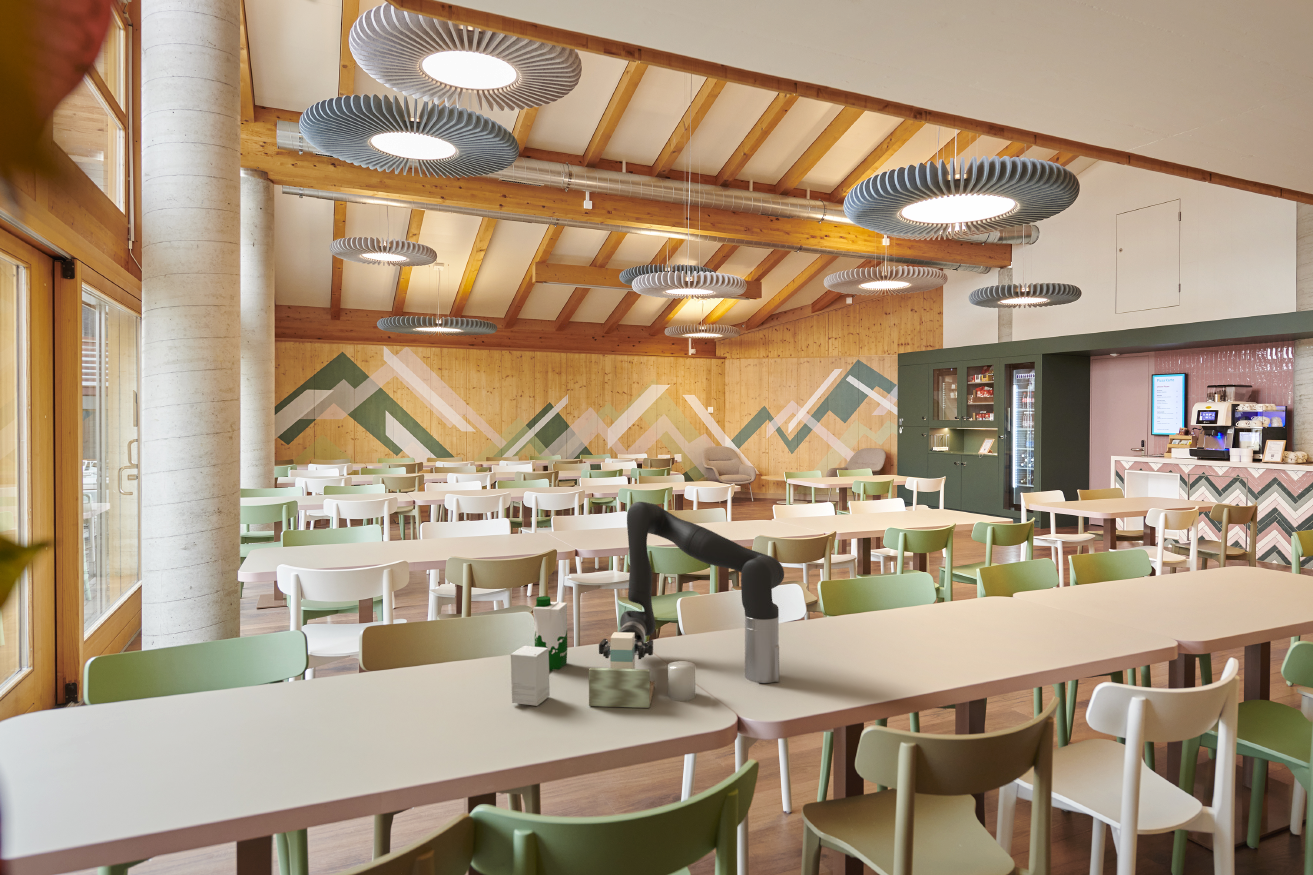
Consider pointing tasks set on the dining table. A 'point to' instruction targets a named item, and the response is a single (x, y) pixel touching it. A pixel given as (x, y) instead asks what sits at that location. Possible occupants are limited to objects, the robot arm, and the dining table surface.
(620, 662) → the oat carton
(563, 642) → the milk carton
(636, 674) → the display bay
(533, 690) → the supplement box
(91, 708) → the dining table surface
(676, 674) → the white tapered tumbler
